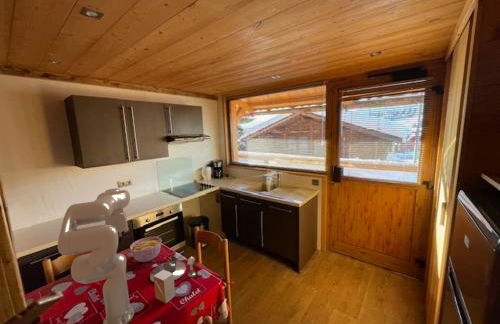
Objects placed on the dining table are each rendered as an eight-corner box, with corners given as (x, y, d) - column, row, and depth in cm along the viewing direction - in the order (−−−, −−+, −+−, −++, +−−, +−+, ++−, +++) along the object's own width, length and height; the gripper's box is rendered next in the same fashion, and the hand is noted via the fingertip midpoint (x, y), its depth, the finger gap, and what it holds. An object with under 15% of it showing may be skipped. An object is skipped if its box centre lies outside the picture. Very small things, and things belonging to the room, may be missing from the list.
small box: (155, 298, 113) (153, 275, 112) (165, 290, 119) (163, 269, 117) (165, 304, 109) (163, 280, 108) (175, 295, 115) (173, 273, 113)
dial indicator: (197, 274, 131) (195, 256, 130) (190, 278, 128) (188, 260, 127) (193, 271, 135) (191, 254, 133) (186, 275, 132) (185, 257, 130)
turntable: (177, 284, 123) (176, 274, 122) (142, 283, 125) (141, 273, 124) (190, 262, 144) (189, 254, 143) (160, 262, 146) (159, 253, 145)
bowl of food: (168, 255, 155) (167, 240, 153) (142, 270, 138) (140, 253, 136) (152, 248, 165) (150, 234, 164) (125, 262, 148) (123, 246, 147)
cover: (173, 274, 130) (172, 266, 130) (162, 274, 131) (161, 266, 130) (177, 267, 137) (177, 260, 137) (167, 267, 138) (166, 260, 137)
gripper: (97, 216, 111) (101, 249, 113) (130, 210, 117) (133, 242, 119) (100, 211, 117) (104, 243, 120) (131, 206, 124) (134, 237, 126)
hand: (119, 243), depth 119 cm, fingers closed
